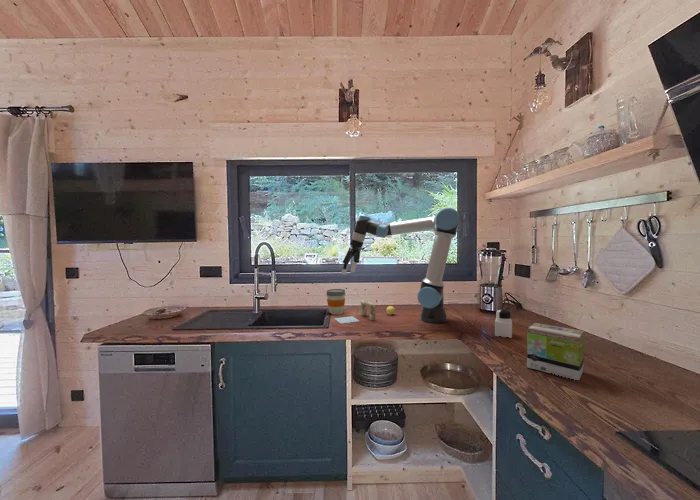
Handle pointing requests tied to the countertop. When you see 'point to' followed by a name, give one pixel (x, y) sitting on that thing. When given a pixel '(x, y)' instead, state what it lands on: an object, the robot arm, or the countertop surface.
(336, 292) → the reusable coffee cup
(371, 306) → the bridge
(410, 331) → the countertop surface
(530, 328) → the tea box
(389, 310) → the ball
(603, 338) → the countertop surface
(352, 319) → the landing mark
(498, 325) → the medicine bottle
